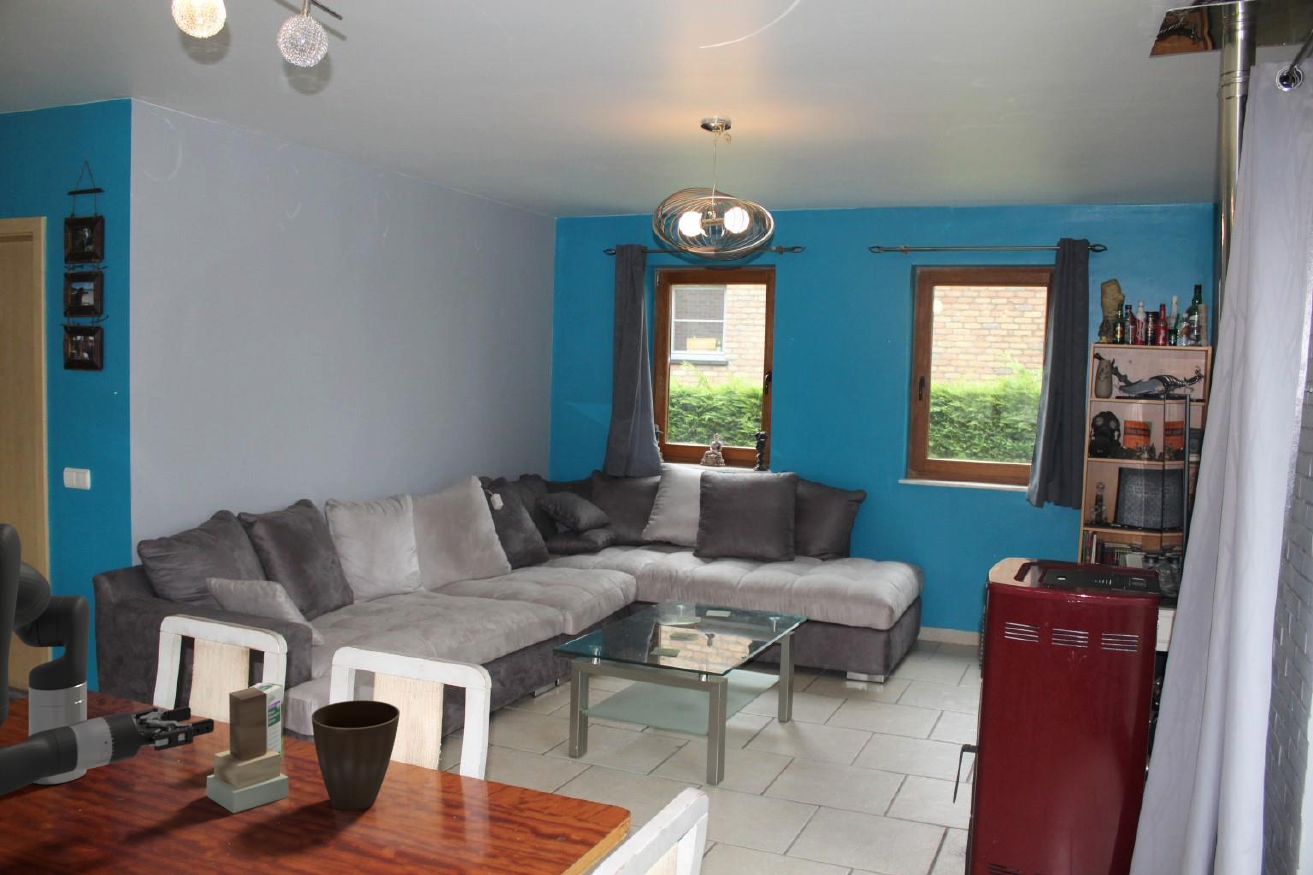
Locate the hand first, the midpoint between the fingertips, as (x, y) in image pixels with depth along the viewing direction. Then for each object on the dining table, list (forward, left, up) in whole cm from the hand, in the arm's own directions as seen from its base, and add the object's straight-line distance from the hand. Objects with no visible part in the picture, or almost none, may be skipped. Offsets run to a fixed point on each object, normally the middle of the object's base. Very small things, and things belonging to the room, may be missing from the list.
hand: (201, 718), depth 176 cm
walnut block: (0, +9, -8) cm, 12 cm away
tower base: (0, +9, -16) cm, 18 cm away
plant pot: (+15, +21, -16) cm, 30 cm away
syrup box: (-14, +19, -16) cm, 28 cm away
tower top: (0, +9, -12) cm, 15 cm away
